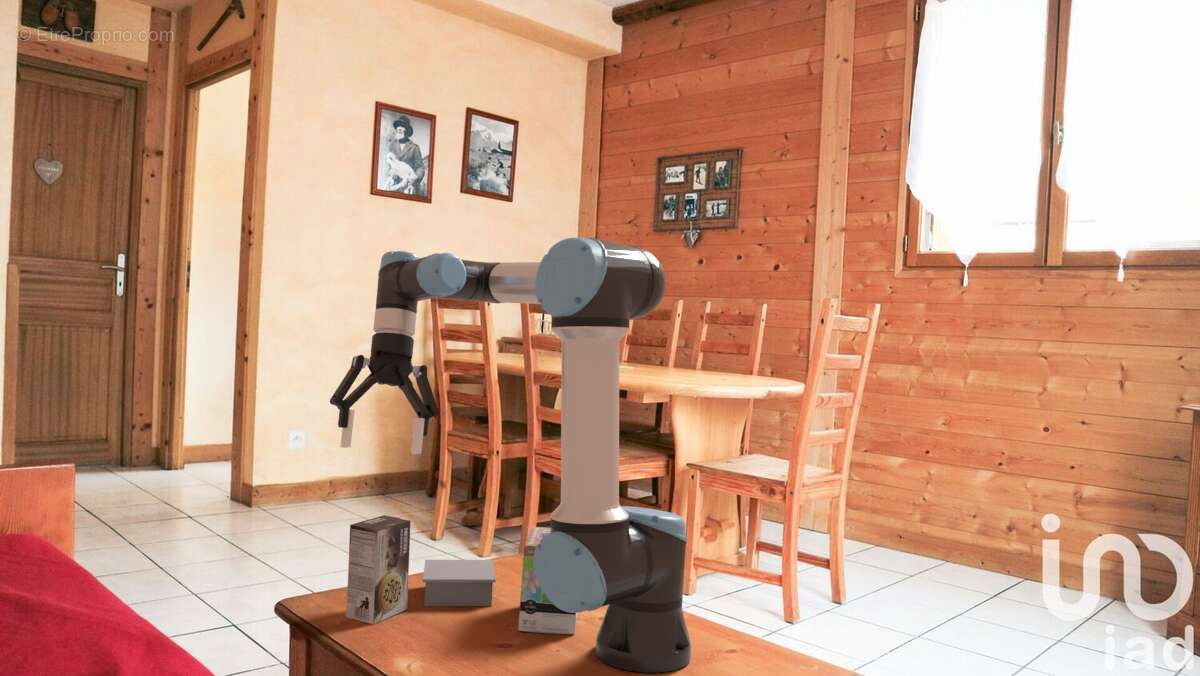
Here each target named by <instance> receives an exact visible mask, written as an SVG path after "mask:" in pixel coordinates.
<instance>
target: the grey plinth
mask: <svg viewBox="0 0 1200 676" xmlns="http://www.w3.org/2000/svg"><path fill="white" fill-rule="evenodd" d="M495 572H496V571H495V566H494V560H493V559H425V560H424V568H423V576H422V583H425V587H424V588H425V589H424V607H492V606H493V605H492V604H493V603H492V602H493V585H494V584H493V583H496V581H497V579H496V573H495Z"/></svg>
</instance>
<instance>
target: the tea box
mask: <svg viewBox="0 0 1200 676" xmlns="http://www.w3.org/2000/svg"><path fill="white" fill-rule="evenodd" d="M549 533H550V527H543V526H542V527H541V526H532V527H531V529H530V531H529V534H528V536H527V538H526V541H525V543H524V545H523V546H524V547H523V556H522V557H523V559H522V574H521V587H520V589H521V590H520V597H519V598H520V600H519V601H520V602H519V614H518V615H519V616H518V627H517V629H518V631H519V632H525V633H526V632H527V633H528V632H529V633H538V634H540V633H542V634H553V635H555V634H557V635H575V633H576V628H577V623H578V622H577V621H578V616H579V615H578V614H579V613H570V612H566V611H563V610H561V609H559V608H557V607H556V606H555V605H553V604H552V603H551V602H550V601H549V600H548V599H547V596H546V594H545V593H544V592H542V590H541V588H540V586H539V584H538V581H537V579H536V575H535V570H534V553H535V549H536V546H537V545H538V544H540V540H541V539H542V538H543V537H544V536H545V535H547V534H549Z"/></svg>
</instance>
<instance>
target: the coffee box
mask: <svg viewBox="0 0 1200 676" xmlns="http://www.w3.org/2000/svg"><path fill="white" fill-rule="evenodd" d="M410 539H411V520H409V519H402V518H400V517H397V516H396V517H395V516H390V515H380V516H376V517H372V518H370V519H365V520H362V521H359V522H356V523H351V524H350V525H349V544H348V545H349V548H348V549H349V550H348V568H347V570H348V571H347V589H346V590H347V591H346V592H347V593H346V608H345V609H346V611H345V613H346V614H345V616H346V618H348V619H350V620H354V621H359V622H363V623H367V624H370V625H376V624H377V623H380V622H382V621H384V620H387V619H389V618H391V617H393V616H396V615H398V614H400V613H402V612H404V611H406V610H407V609H408V592H409V571H410V570H409V569H410V549H411V548H410V544H411V540H410Z"/></svg>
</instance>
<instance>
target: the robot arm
mask: <svg viewBox="0 0 1200 676" xmlns="http://www.w3.org/2000/svg"><path fill="white" fill-rule="evenodd" d="M666 286H667V281H666V274H665V271H664V267H663V265H662V263H661V262H660V261H659V260H658V259H657V257H656V256H655V255H654V254H653V253H651V252H650V251H648V250H646V249H645V248H643V247H641V246H636V245H629V244H622V243H617V242H612V241H607V240H602V239H597V238H595V237H567V238H564V239H561V240H559V241H558V242H556V243H554V244H553V245H552V246H551V247H550V248H549V249H548V251H547V254H545V255H543V257H542V259H541V260H540V261H539V262H537V261H536V262H535V261H534V262H533V261H531V262H530V261H529V262H528V261H525V262H522V261H520V262H519V261H518V262H514V261H513V262H494V261H493V262H489V261H487V262H485V261H474V260H469V259H467V260H466V259H461V258H459V257H457V256H456V255H455V254H454V253H450V252H441V253H437V252H436V253H431V254H428V255H427V256H424V257H420V256H419V255H417V254H415V253H413V252H411V251H405V250H404V251H403V250H397V251H394V250H391V251H387V252H385V253H384V254H383V255H382V257H381V259H380V266H379V271H378V278H377V289H376V300H375V310H374V311H375V312H374V320H373V328H372V329H373V332H374V334H372V337H371V344H370V345H371V346H370V356H369V358H367V357H365V356H364V355H363V354H359V355H356V356H353V358H352V360H351V365H350V368H349V369H348V371H347V372H346V374H345V376H344V377H343V378H342V381H341V382H340V383H339V385H338V386H337V388H336V389H335V391H334V393H333V394H332V396H331V397H330V399H329V404H330V405H332V406H335V407H336V408H337V409H338V411H339V413H338V422H337V423H338V424H337V426H338V428H342V430H341V439H340V448H351V445H352V436H353V428H354V421H355V409H350V408H352V406H353V405H355V404H356V402H358V401H359V400H360V399H361V398H362V397H363V396H364V395H365V394H366V393H367V392H368V391H369V390H370V389H371V388H372V387H373V386H374V385H375V384H378V385H382V386H383V385H387V386H390V387H398V388H399V390H401V391H402V393H403V394H404V396H405V398H406V399H407V401H408V403H409V404H410V406H411V407H412V410H414V412H415V414H416V415H417V417H418V418H414V420H413V427H412V428H413V430H412V431H413V432H412V440H411V447H410V448H411V451H410V454H412V455H421V454H422V449H423V440H424V437H427V435H428V429H429V420H430V419H431V418H434V417H437V416H439V415H440V411H439V407H438V405H437V402H436V399H435V396H434V393H433V390H432V387H431V385H430V381H429V379H428V378H429V377H428V366H427V365H425V364H423V365H413V362H412V359H413V353H414V345H415V344H414V343H415V339H414V337H413V336H414V335H415V333H416V324H417V322H416V321H417V314H418V313H417V312H418V303H419V302H420V301H424V300H431V299H432V300H433V299H439V300H440V299H441V300H453V301H455V300H456V301H464V302H465V301H467V302H468V301H471V302H480V303H481V302H482V303H489V304H506V303H508V304H511V303H512V304H529V305H530V304H531V305H540V307H541V308H542V310H544V312H546V313H547V314H548V315H549V316H551V331H552V333H554V335H555V336H556V337H558V339H559V341H560V342H561V371H560V372H561V376H560V377H561V381H560V384H561V391H560V392H561V393H560V394H561V397H560V399H561V401H560V403H561V404H560V405H561V408H560V410H561V411H560V413H561V414H560V415H561V419H560V420H561V421H560V423H561V424H560V425H561V426H560V427H561V428H560V429H561V431H560V503H559V505H558V506H557V507H556V508H555V509H554V510H553V511H552V512H551V513H550V526H549V528H550V533H549V534H547V535H545V536H544V537H543V538H542V539H541V540H540V544H538V545H537V546H536V549H535V553H534V570H535V575H536V579H537V581H538V584H539V586H540V588H541V590H542V592H544V593H545V594H546V596H547V599H548V600H549V601H550V602H551V603H552V604H553V605H555V606H556V607H557V608H559V609H561V610H563V611H566V612H570V613H578V614H579V613H583V612H591V611H596V610H599V609H600V608H602V607H605V606H607V608H606V611H605V613H604V617H603V619H602V621H601V624H600V626H599V627H600V628H599V630H598V633H597V635H596V639H595V654H596V657H597V658H599V660H601V662H604V663H605V664H606V665H607V664H608V665H610V666H611V667H614V668H617V669H620V670H625V671H629V672H637V673H645V674H646V673H650V674H651V673H666V672H672V671H677V670H679V669H682V668H683V667H685V666H687V665H688V664H689V663H690V662H691V656H692V655H691V654H692V643H691V638H690V634H689V630H688V627H687V623H686V619H685V614H684V611H683V599H684V598H683V596H684V595H683V594H684V583H685V582H684V580H685V577H684V576H685V564H686V562H685V560H686V546H687V545H686V544H687V542H688V540H687V527H686V526H687V524H686V522H685V519H684V518H683V517H682V516H680V515H678V514H676V513H673V512H671V511H665V510H660V509H655V508H648V507H642V506H641V507H640V506H626V505H622V506H621V504H620V342H621V340H622V339H623V338H624V337H625V336H626V335H627V333H628V332H630V321H632V320H638V319H641V318H645V317H646V316H648V315H650V314H651V313H653V311H655V310H656V309H657V308H658V307H659V305H660V304H661V302H662V301H663V299H664V296H665V294H666V289H667V288H666ZM366 366H367V368H368V369H369V371H370V373H369V375H368V376H366V377H365V379H364V380H363V381H362V382H361V383H360V384H359V385H358V386H357V387H356V388H355V389H353V391H352V392H351V393H350V394H349V395H348V396H347V397H346V395H347V394H348V392H349V390H350V389H351V387H352V386H353V384H354V383H355V382H356V380H357V378H358V376H359V375H360V373H361V372H362V369H365V368H366ZM411 374H412V375H413V377H414V378H415V382H416V385H417V388H418V390H419V393H418V392H417V390H416V389H415V387H414V384H413V381H412V380H411V378H410V377H409V376H410V375H411Z"/></svg>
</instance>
